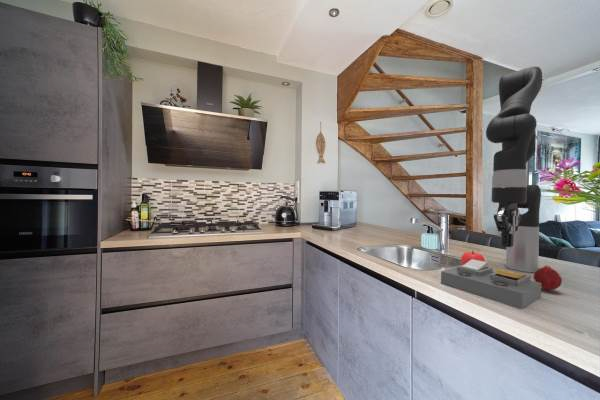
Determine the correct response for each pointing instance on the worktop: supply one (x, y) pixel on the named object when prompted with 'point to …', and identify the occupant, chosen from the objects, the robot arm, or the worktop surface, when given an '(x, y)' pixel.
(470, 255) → the apple
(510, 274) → the amber rocker
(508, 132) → the robot arm
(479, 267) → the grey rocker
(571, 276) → the worktop surface
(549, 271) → the red rounded lump
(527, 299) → the grey flat block
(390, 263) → the worktop surface
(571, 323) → the worktop surface
